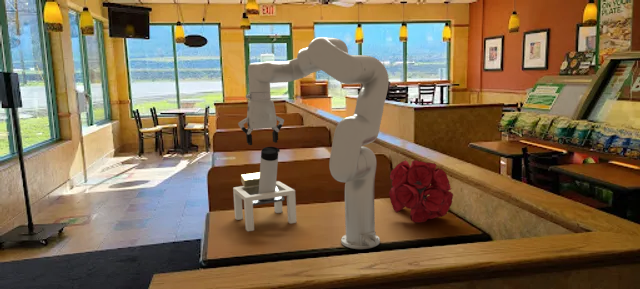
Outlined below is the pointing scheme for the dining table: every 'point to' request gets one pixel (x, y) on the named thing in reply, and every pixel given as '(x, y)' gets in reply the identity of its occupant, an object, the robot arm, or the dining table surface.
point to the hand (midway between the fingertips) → (262, 143)
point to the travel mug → (268, 170)
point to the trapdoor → (256, 188)
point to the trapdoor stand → (249, 199)
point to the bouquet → (420, 190)
